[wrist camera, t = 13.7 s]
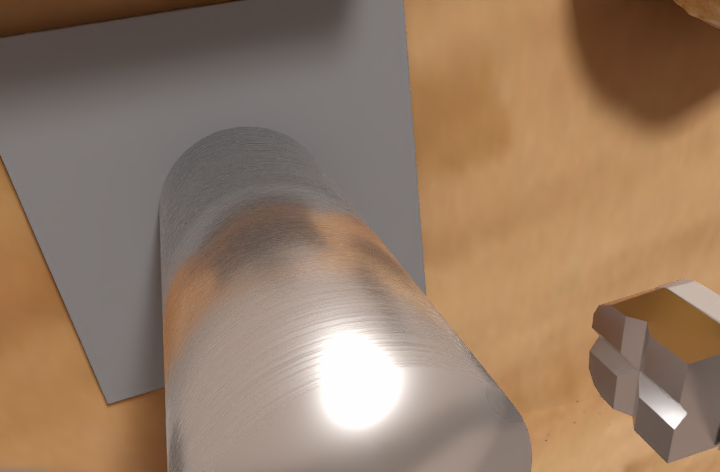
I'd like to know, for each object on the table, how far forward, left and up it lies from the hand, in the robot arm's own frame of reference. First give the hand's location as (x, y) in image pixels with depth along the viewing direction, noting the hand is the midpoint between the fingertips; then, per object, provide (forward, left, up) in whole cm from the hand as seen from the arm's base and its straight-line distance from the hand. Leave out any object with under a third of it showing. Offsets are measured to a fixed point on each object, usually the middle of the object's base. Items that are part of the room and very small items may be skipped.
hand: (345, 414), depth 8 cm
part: (0, 0, -9) cm, 9 cm away
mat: (0, 0, -9) cm, 9 cm away
